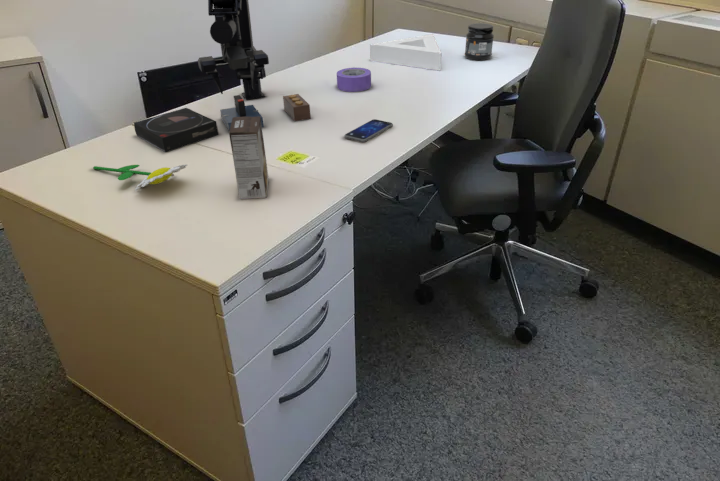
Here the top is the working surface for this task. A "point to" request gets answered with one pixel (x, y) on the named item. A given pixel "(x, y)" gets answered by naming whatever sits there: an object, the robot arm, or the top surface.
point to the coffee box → (249, 157)
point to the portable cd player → (176, 129)
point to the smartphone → (368, 130)
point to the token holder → (296, 107)
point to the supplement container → (479, 41)
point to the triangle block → (408, 52)
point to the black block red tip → (239, 105)
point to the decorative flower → (152, 178)
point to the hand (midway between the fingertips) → (237, 91)
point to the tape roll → (353, 79)
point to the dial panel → (231, 112)
